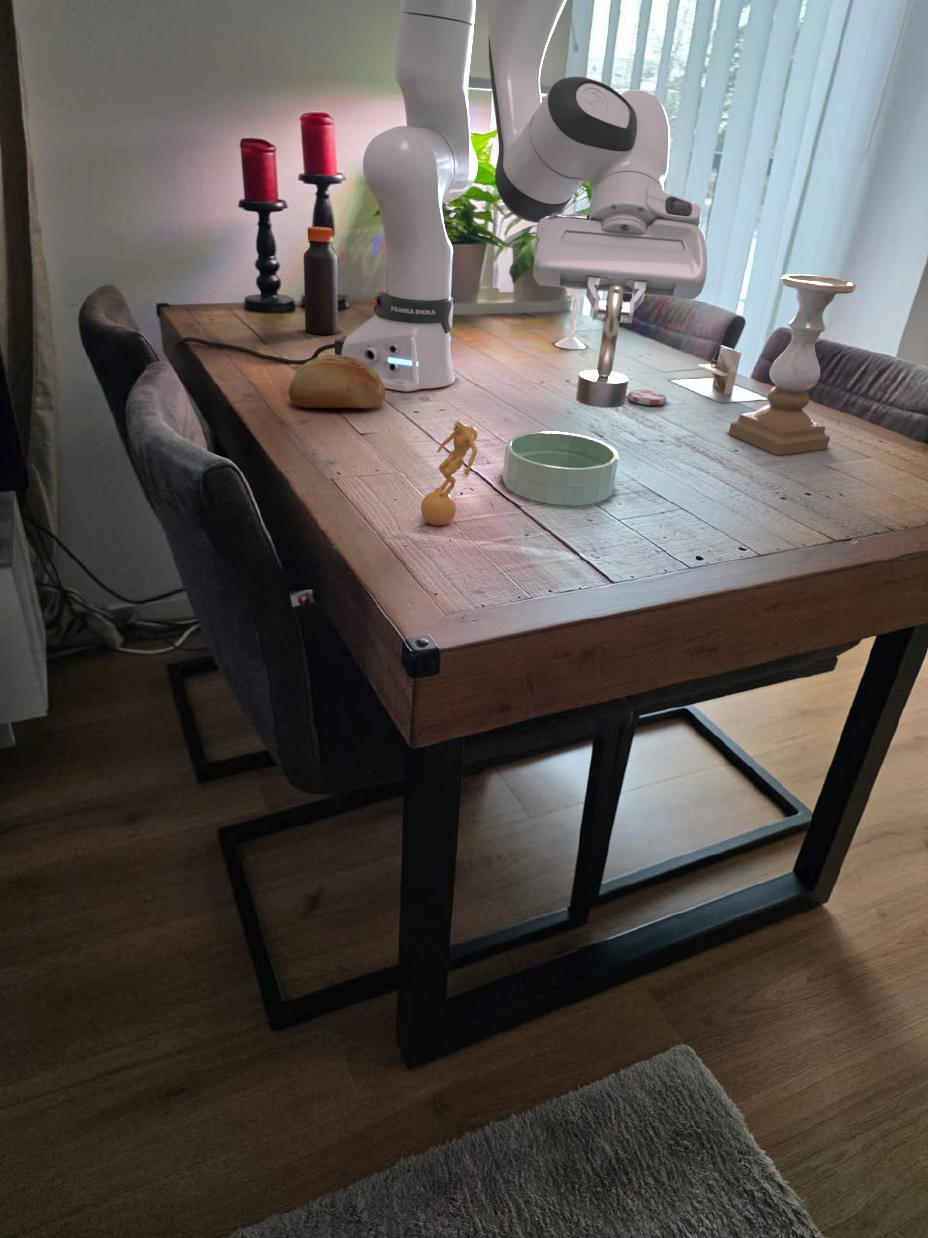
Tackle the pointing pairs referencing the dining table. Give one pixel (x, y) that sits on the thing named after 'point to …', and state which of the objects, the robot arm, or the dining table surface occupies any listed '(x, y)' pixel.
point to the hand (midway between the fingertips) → (612, 318)
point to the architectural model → (721, 379)
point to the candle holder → (794, 375)
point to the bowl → (559, 468)
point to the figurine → (439, 503)
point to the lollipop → (646, 397)
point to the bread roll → (336, 384)
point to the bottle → (320, 283)
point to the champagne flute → (573, 321)
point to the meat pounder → (605, 362)
